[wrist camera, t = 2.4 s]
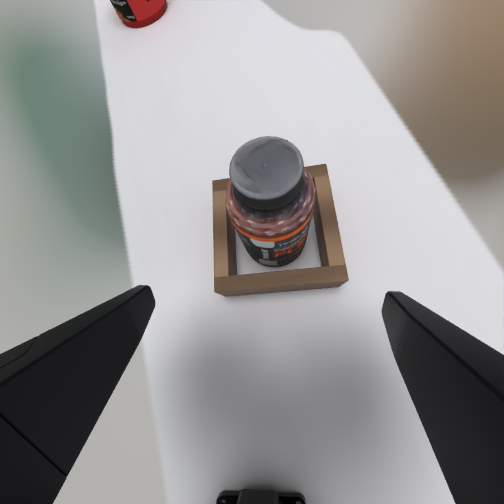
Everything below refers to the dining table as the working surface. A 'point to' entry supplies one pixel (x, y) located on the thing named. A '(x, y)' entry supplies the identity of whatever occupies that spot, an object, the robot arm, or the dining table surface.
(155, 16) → the canned food
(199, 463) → the dining table surface
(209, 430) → the dining table surface
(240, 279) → the walnut socket holder
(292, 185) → the supplement bottle
